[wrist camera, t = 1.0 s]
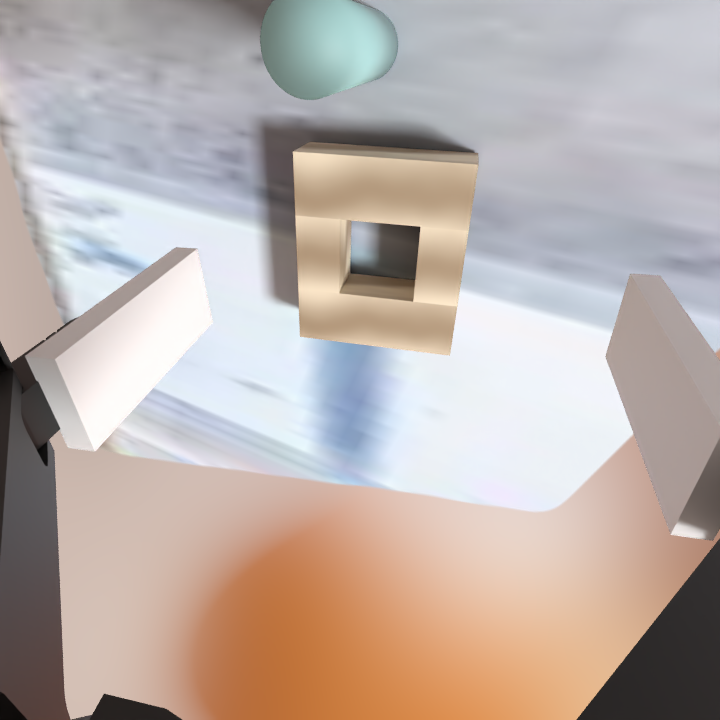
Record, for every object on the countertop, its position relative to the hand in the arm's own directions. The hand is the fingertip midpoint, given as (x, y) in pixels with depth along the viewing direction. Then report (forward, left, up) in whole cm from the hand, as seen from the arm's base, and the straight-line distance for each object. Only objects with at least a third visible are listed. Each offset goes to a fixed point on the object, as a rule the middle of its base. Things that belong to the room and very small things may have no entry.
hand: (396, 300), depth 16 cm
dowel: (-7, -5, -23) cm, 25 cm away
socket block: (+6, -3, -23) cm, 24 cm away
